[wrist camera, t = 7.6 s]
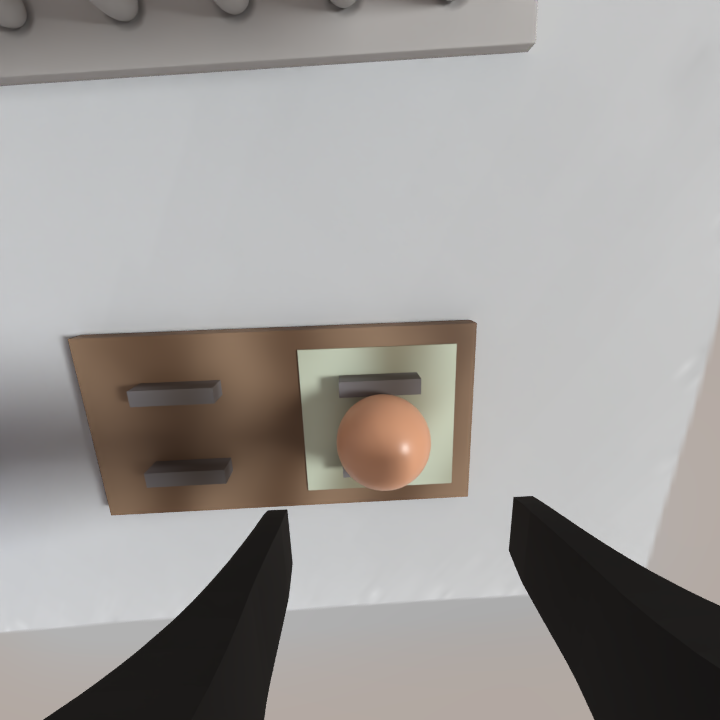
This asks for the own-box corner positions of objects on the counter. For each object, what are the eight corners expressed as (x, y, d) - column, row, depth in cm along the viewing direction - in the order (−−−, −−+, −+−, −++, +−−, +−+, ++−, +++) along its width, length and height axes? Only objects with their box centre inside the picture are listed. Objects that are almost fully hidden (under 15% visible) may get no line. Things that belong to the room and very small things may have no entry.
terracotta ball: (373, 473, 20) (380, 530, 16) (319, 417, 19) (313, 462, 15) (437, 425, 20) (462, 470, 15) (385, 364, 19) (397, 396, 14)
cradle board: (121, 503, 21) (97, 530, 19) (82, 334, 19) (48, 344, 17) (462, 486, 22) (474, 510, 20) (470, 319, 19) (485, 327, 17)
